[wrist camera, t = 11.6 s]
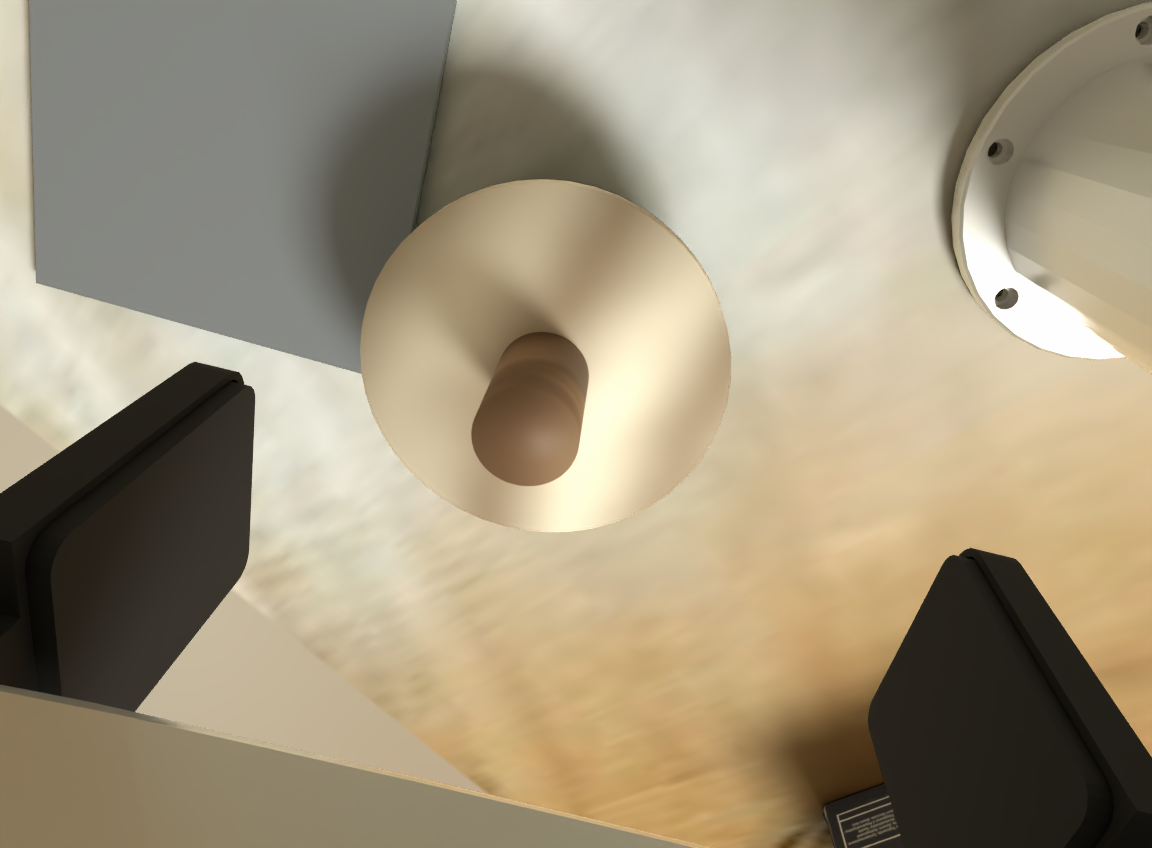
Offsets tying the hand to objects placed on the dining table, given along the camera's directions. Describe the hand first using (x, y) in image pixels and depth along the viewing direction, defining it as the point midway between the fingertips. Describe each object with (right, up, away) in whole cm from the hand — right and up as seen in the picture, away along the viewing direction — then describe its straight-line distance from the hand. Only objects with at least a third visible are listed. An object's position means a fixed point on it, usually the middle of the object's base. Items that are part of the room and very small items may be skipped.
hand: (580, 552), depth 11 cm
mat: (-13, +12, +21) cm, 28 cm away
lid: (-1, +4, +18) cm, 19 cm away
